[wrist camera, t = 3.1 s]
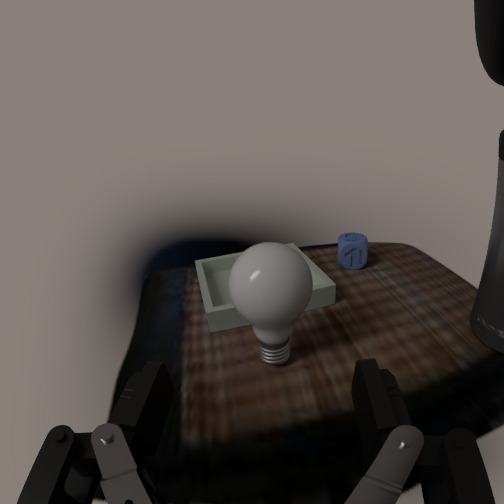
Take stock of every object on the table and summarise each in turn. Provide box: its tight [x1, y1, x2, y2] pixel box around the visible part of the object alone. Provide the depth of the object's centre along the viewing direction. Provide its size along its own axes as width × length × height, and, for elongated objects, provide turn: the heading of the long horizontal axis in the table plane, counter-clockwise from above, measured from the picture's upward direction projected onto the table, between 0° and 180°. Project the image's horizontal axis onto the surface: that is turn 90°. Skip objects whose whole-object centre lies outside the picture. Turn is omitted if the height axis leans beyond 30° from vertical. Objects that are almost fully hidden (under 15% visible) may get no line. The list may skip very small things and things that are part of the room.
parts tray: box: [195, 243, 336, 333], centre depth 37 cm, size 14×13×2 cm
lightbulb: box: [228, 242, 313, 365], centre depth 24 cm, size 6×6×11 cm
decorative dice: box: [338, 233, 368, 270], centre depth 41 cm, size 4×4×4 cm
